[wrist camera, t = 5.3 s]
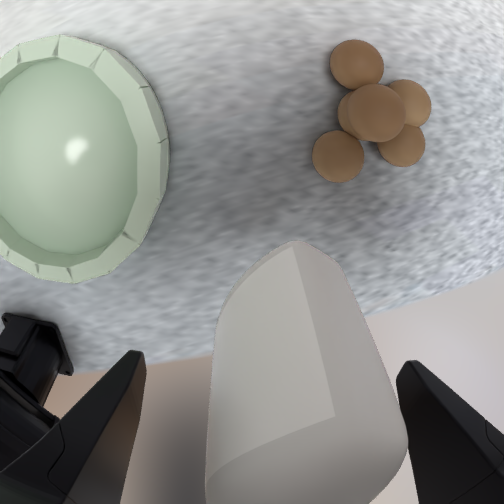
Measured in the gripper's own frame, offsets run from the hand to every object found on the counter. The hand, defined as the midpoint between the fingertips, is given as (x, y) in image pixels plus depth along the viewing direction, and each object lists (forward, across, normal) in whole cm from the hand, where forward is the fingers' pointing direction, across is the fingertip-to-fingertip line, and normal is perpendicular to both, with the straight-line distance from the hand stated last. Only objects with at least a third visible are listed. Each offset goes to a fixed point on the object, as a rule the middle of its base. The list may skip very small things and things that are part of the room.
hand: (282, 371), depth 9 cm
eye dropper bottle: (+4, 0, 0) cm, 4 cm away
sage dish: (+12, +13, -3) cm, 18 cm away
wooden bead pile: (+12, -4, -7) cm, 14 cm away
